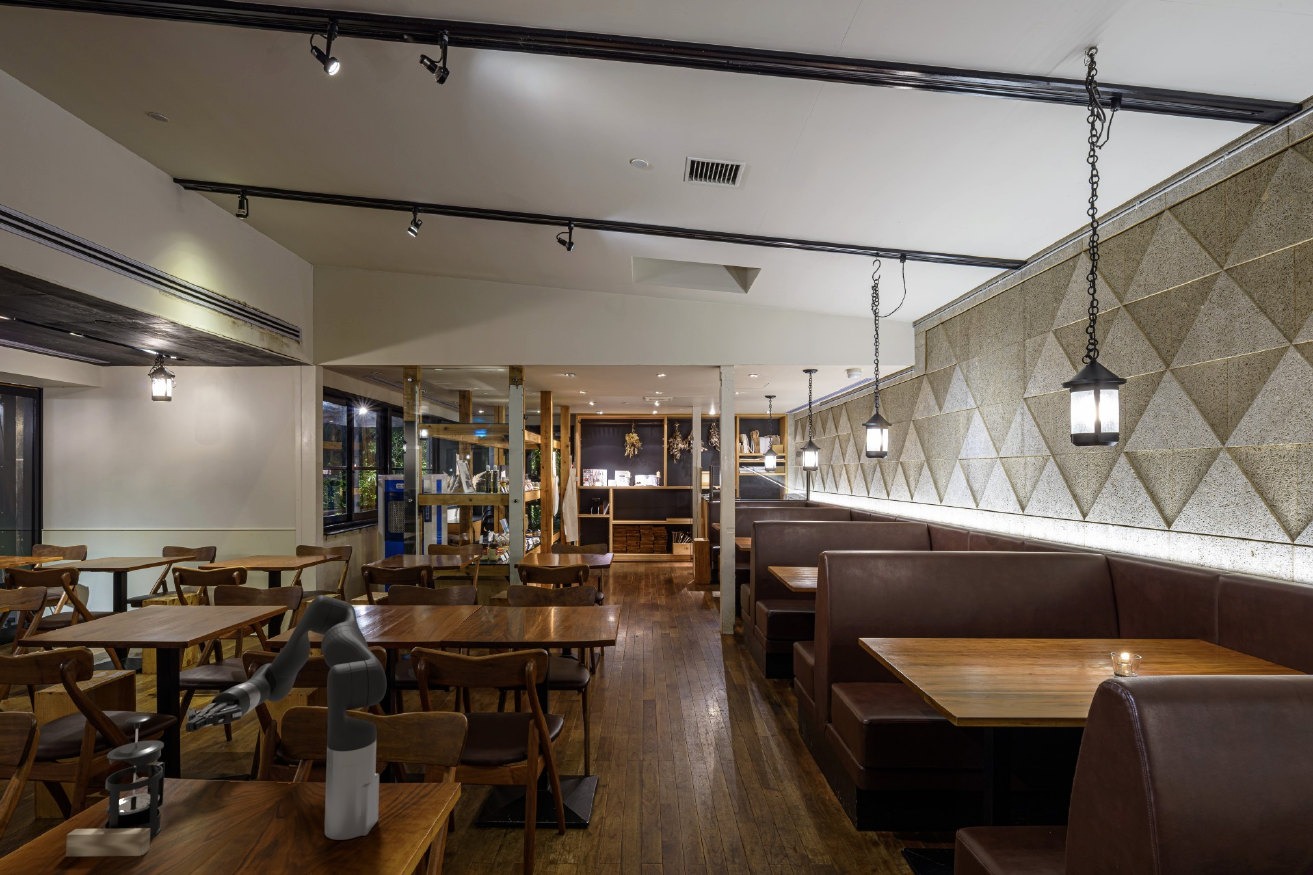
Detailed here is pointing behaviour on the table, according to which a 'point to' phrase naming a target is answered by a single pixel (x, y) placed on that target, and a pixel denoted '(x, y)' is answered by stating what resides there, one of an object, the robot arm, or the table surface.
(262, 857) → the table surface
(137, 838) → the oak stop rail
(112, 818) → the french press
